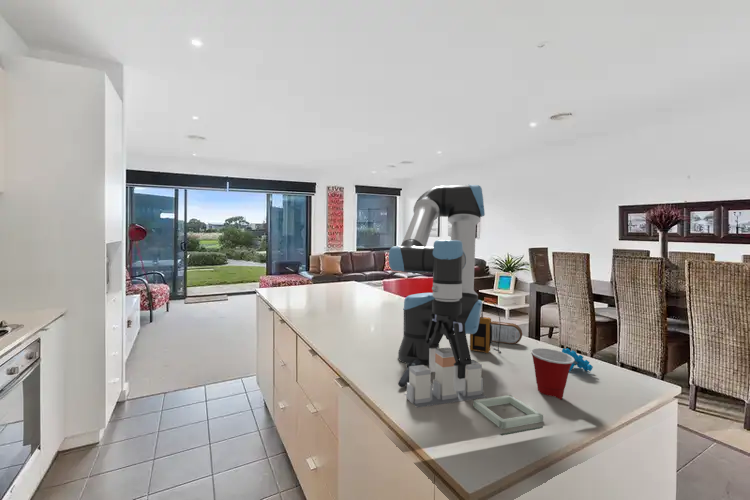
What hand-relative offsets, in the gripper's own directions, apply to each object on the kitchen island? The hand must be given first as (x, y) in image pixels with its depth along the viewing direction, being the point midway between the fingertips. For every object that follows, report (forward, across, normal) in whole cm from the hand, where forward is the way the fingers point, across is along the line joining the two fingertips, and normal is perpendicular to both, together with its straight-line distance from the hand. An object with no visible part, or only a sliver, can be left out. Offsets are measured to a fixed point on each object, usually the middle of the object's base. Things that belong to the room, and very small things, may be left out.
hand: (445, 380), depth 95 cm
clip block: (+6, 0, 0) cm, 6 cm away
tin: (+6, -42, +50) cm, 66 cm away
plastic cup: (+6, +6, +29) cm, 30 cm away
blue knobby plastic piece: (+6, -8, +53) cm, 54 cm away
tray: (+6, +13, +9) cm, 17 cm away
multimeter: (+6, -37, +37) cm, 53 cm away
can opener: (+6, -13, -4) cm, 15 cm away
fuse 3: (+4, 0, +8) cm, 9 cm away
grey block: (+4, 0, -8) cm, 9 cm away
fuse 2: (+4, 0, 0) cm, 4 cm away
